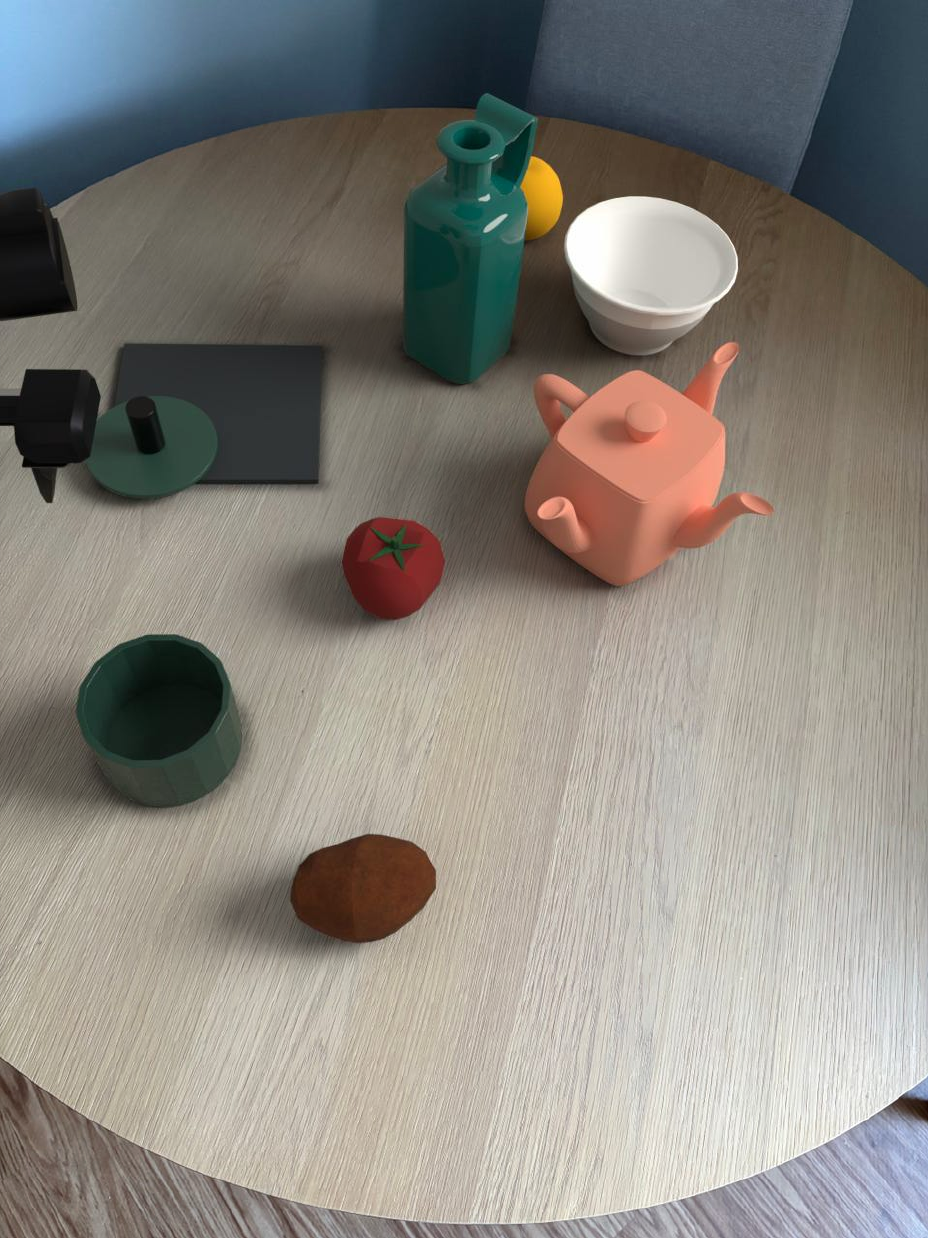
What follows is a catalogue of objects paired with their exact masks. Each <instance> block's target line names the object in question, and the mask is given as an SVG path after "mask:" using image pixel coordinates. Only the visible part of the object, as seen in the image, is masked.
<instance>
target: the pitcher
mask: <svg viewBox="0 0 928 1238" xmlns="http://www.w3.org/2000/svg"><path fill="white" fill-rule="evenodd" d="M538 119H539V117H537V116H534V115H533V114H531V113H529V112H526V111H525V110H522V109H521V108H518V107H516V106H515V105H513V104H511V103H509V102H507V101H504V100H502V99H500V98H499V97H496V96H494V95H492V94H490V93H488V92H486V93H484V94H482V95H481V96H480V98H479V100H478V102H477V105H476V109H475V116H474V119H461V120H457V121H453V122H450V123H448V124H447V125H445V126H444V127H442V128H441V129H440V130H439V132H438V134H437V137H436V144H437V148H438V150H439V151H440V152H441V154H442V155H443V156H444V157H445V158H446V163H445V164H444V165H442V166H441V167H440V168H439V169H437V170H436V171H434V172H433V173H432V174H430V176H428V177H427V178H426V179H424V180H423V181H422V182H419V184H417V185H416V186H415V187H414V188H412V189H411V190H410V191H409V194H408V196H407V198H406V200H405V203H404V209H403V268H402V269H403V271H402V272H403V275H402V278H403V279H402V280H403V281H402V282H403V283H402V347H403V348H402V349H403V351H404V352H405V354H406V355H407V356H408V357H409V358H411V359H412V360H414V361H415V362H418V363H419V364H421V365H423V366H424V367H425V368H427V369H428V370H430V371H432V372H434V373H435V374H437V375H439V376H441V377H442V378H444V379H445V380H447V381H449V382H450V383H455V384H459V385H461V384H471V383H473V382H476V381H477V380H478V379H479V378H481V376H482V375H484V374H485V372H487V371H488V370H489V369H490V368H491V367H493V365H494V364H495V363H497V362H498V360H499V359H501V358H502V357H503V356H504V355H505V354H506V353H507V352H508V351H509V350H510V347H511V344H512V338H513V331H514V330H513V329H514V323H515V315H516V308H517V301H518V300H517V299H518V292H519V286H520V285H519V284H520V277H521V270H522V269H521V268H522V264H523V263H522V261H523V255H524V246H525V241H526V240H525V232H526V225H527V217H528V204H527V200H526V196H525V193H524V192H523V191H522V189H521V188H520V186H521V184H522V182H523V179H524V177H525V174H526V172H527V169H528V166H529V162H530V158H531V156H532V153H533V150H534V149H533V148H534V143H535V138H536V132H537V127H538V123H539V122H538V121H539V120H538Z"/></svg>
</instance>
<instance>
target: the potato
mask: <svg viewBox="0 0 928 1238" xmlns="http://www.w3.org/2000/svg"><path fill="white" fill-rule="evenodd" d="M436 890H437V869H436V868H435V866H434V864H433V863H432V861H431V860H430V858H429V855H428V854H427V851H425V850H424V849H422V848H421V847H420V846H419V845H418V844H416V843H414V842H413V841H410V840H407V839H402V838H399V837H394V836H389V835H385V834H381V833H379V834H377V833H366V834H362V835H359V836H355V837H353V838H349V839H346V840H345V841H342V842H339V843H337V844H333V845H332V844H331V845H329V846H325V847H324V846H323V847H322V848H320V849H317V850H316V851H313V852H311V853H309V854H308V855H307V856H306V857H305V858H304V859H303V860H302V861H301V862H300V863H299V865H298V866H297V870H296V872H295V874H294V877H293V879H292V884H291V888H290V893H289V902H290V904H291V907H292V910H293V912H294V914H295V917H296V918H297V920H298V921H299V922H301V924H304V925H305V926H307V927H309V928H310V929H312V930H313V931H316V932H318V933H320V934H323V935H325V936H327V937H329V938H332V939H334V940H339V941H342V942H345V943H353V944H365V943H373V942H378V941H380V940H385V939H387V938H388V937H389V936H392V935H393V934H395V933H397V932H398V931H399V930H401V929H402V928H403V927H404V926H405V925H406V924H409V923H410V922H411V921H413V919H414V918H415V917H416V916H417V915H418V914H419V913H420V912H421V911H422V910H423V909H425V906H427V904H428V902H429V899H431V897H432V895H433V894H434V892H435V891H436Z"/></svg>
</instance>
